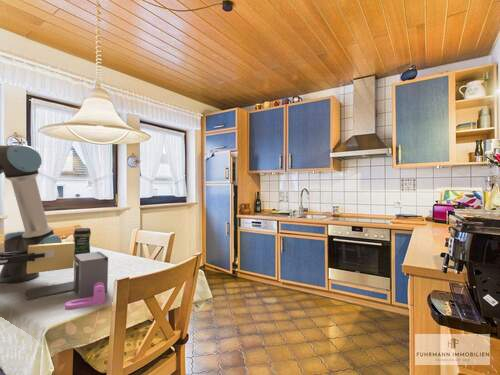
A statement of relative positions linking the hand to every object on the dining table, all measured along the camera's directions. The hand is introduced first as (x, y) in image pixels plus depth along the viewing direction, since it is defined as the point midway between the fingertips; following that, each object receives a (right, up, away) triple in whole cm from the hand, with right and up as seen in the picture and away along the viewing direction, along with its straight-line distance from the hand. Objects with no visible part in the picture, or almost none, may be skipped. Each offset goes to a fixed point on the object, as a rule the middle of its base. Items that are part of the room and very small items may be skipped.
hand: (53, 252), depth 117 cm
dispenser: (+15, -17, +1) cm, 23 cm away
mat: (0, -16, 0) cm, 17 cm away
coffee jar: (-24, -17, +58) cm, 65 cm away
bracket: (+22, -17, -13) cm, 30 cm away
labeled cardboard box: (-1, -7, -1) cm, 7 cm away
